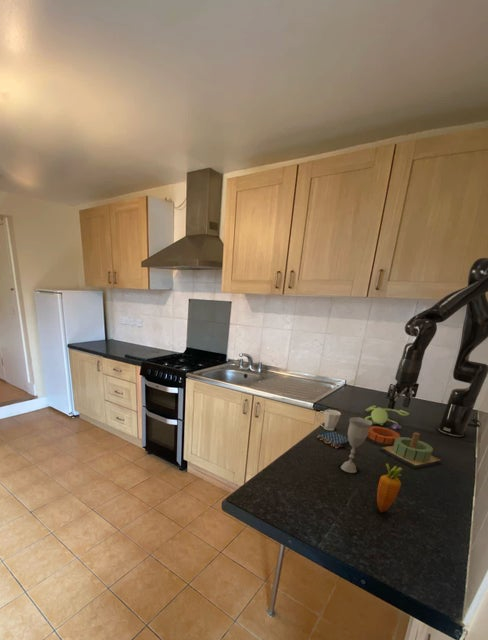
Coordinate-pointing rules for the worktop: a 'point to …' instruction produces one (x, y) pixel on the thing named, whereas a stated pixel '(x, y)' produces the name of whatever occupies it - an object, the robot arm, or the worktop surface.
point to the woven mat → (333, 439)
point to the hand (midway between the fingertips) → (398, 407)
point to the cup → (330, 419)
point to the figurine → (383, 416)
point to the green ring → (412, 449)
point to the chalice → (356, 439)
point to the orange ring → (375, 435)
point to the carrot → (388, 488)
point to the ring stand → (412, 445)
